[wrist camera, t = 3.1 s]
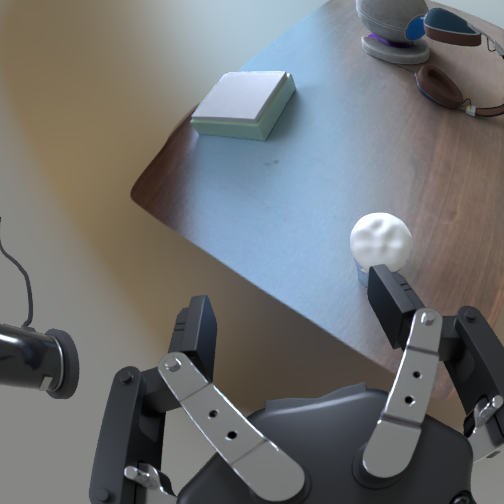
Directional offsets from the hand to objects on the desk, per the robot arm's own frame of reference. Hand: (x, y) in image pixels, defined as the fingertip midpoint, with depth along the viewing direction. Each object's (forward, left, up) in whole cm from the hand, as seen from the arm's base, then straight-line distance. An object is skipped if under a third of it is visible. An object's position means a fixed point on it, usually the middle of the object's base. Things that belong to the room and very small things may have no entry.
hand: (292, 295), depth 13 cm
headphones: (+7, +35, -14) cm, 38 cm away
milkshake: (+3, +6, -14) cm, 15 cm away
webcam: (-1, +49, -14) cm, 51 cm away
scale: (-21, +25, -13) cm, 35 cm away
